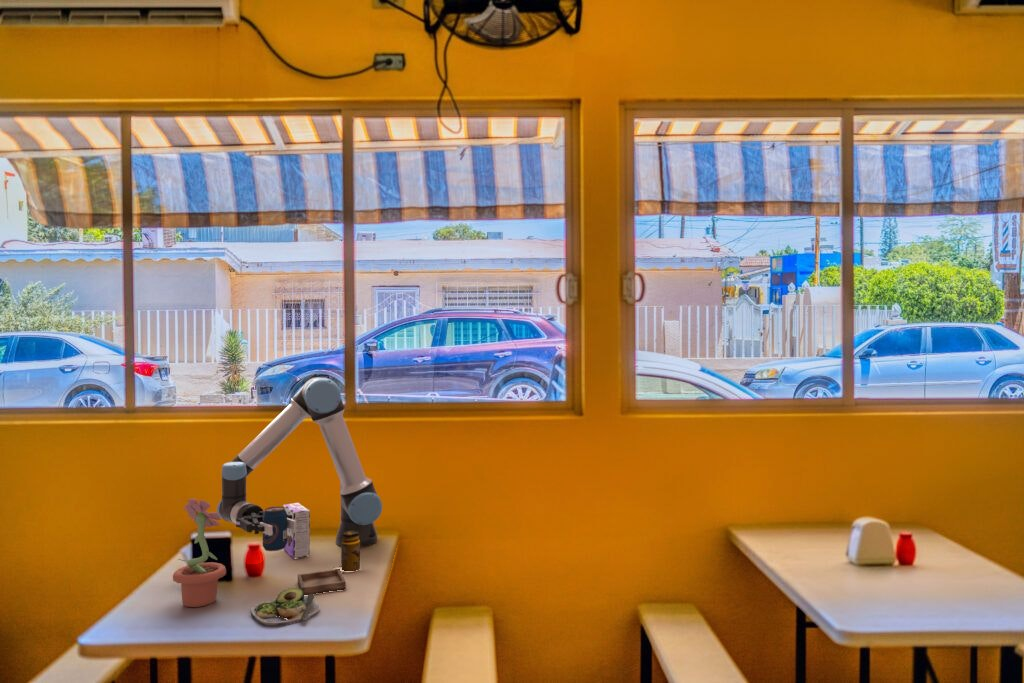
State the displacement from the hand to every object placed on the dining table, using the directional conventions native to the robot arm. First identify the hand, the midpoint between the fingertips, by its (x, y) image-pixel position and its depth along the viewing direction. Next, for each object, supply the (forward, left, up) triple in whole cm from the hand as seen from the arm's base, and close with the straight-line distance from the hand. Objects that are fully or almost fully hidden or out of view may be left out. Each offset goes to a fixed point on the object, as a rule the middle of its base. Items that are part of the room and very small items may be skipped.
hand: (283, 528), depth 195 cm
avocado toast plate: (0, +16, -20) cm, 25 cm away
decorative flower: (+22, -1, -19) cm, 29 cm away
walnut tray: (-11, 0, -19) cm, 22 cm away
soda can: (+2, -5, -7) cm, 9 cm away
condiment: (-21, -13, -19) cm, 31 cm away
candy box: (-7, -38, -19) cm, 43 cm away
